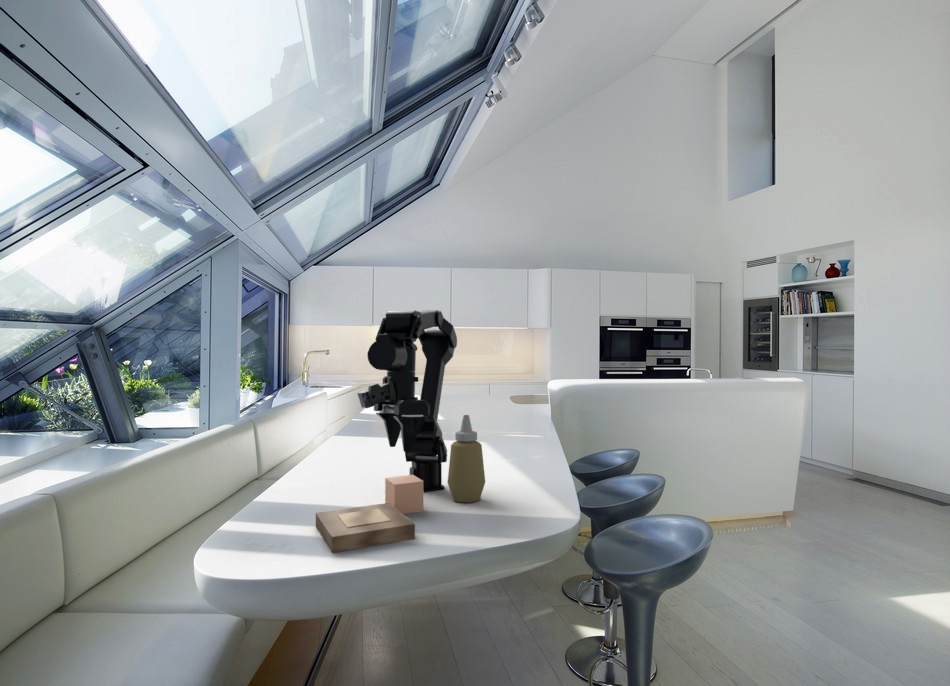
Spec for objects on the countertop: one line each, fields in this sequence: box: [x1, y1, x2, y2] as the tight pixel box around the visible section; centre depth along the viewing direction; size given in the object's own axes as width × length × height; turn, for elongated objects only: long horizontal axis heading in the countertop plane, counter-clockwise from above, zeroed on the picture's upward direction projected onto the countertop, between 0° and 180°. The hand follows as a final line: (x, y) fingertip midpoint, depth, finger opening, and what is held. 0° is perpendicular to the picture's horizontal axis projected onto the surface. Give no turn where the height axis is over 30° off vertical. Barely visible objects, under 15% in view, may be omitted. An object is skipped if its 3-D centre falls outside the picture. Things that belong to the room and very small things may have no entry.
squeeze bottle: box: [447, 414, 486, 503], centre depth 117 cm, size 8×8×18 cm
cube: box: [384, 474, 424, 515], centre depth 110 cm, size 6×6×6 cm
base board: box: [315, 503, 416, 554], centre depth 96 cm, size 14×14×3 cm
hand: (399, 449), depth 110 cm, fingers open, 9 cm apart
